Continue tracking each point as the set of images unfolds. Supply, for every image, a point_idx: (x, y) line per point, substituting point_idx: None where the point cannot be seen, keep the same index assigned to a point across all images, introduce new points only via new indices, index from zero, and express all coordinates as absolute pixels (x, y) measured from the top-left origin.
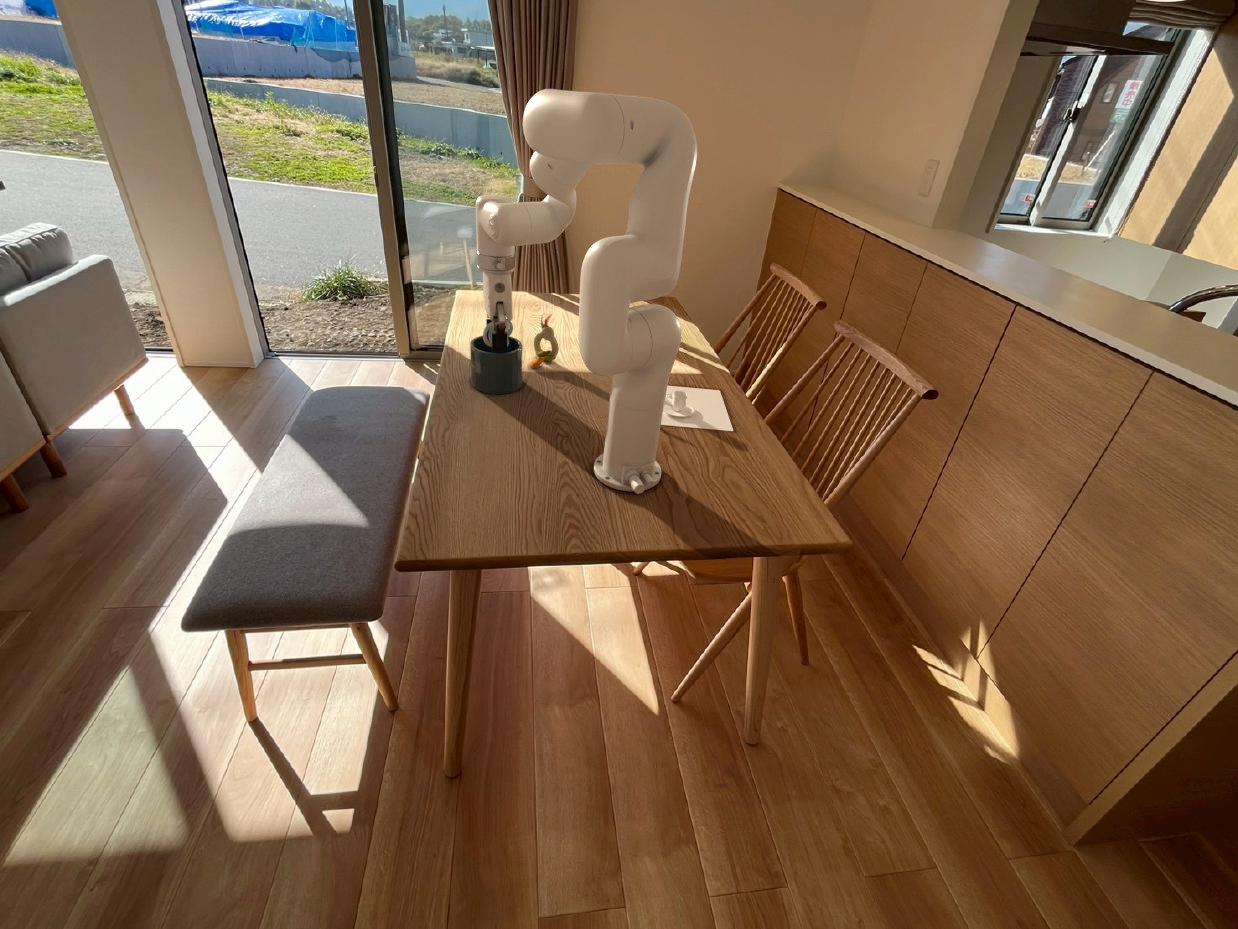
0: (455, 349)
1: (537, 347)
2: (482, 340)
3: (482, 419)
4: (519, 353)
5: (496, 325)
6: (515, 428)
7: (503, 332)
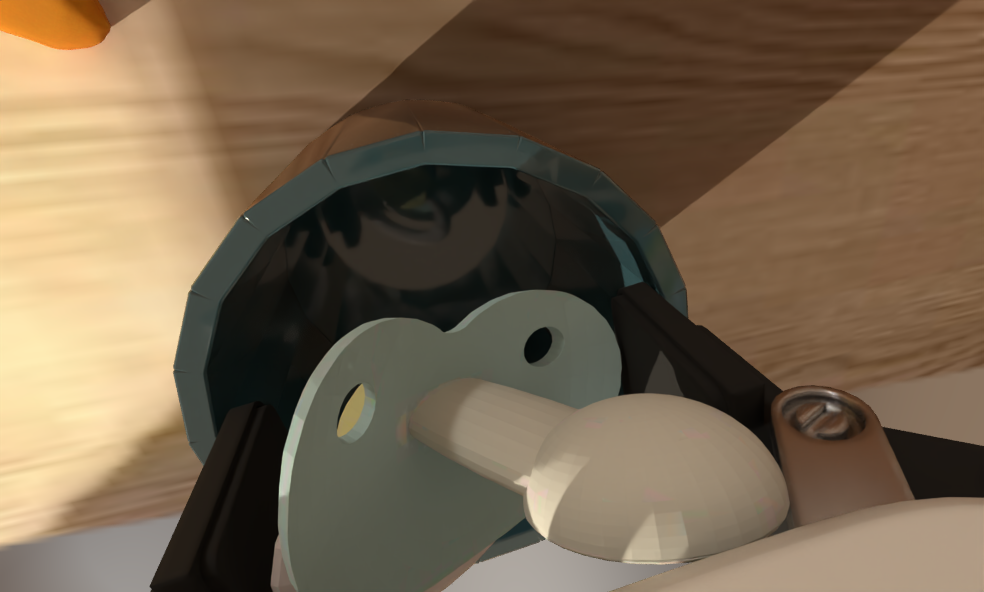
0: (23, 538)
1: None
2: None
3: (798, 256)
4: (551, 147)
5: (386, 551)
6: (903, 97)
7: (892, 440)
